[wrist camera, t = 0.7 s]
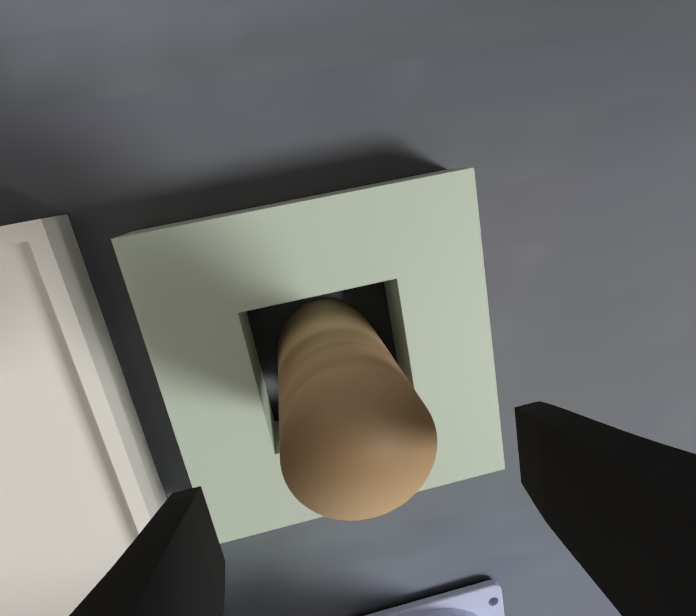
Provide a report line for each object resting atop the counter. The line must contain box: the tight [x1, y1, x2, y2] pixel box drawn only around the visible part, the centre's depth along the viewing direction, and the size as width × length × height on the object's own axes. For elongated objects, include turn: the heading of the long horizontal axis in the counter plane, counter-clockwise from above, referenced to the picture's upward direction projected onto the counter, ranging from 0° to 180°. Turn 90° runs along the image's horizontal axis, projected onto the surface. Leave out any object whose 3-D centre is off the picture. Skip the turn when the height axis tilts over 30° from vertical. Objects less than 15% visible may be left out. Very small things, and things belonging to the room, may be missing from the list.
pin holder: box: [111, 168, 505, 544], centre depth 18 cm, size 12×12×2 cm
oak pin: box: [278, 299, 437, 521], centre depth 16 cm, size 4×4×8 cm
